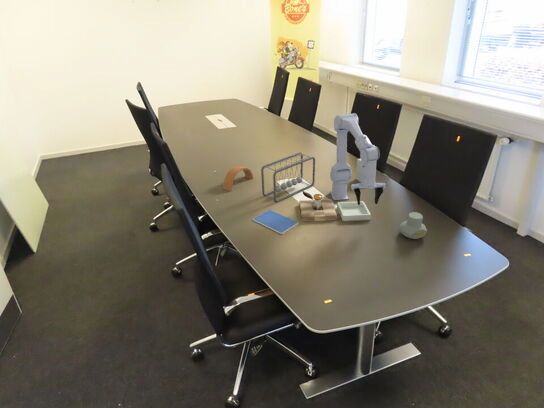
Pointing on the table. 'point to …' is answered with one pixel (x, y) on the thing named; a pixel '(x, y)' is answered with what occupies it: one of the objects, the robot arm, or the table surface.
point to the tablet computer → (275, 221)
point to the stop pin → (317, 201)
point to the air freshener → (413, 226)
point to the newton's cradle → (288, 183)
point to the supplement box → (359, 170)
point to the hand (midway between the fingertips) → (367, 203)
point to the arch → (232, 174)
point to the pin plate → (317, 215)
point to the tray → (353, 211)
